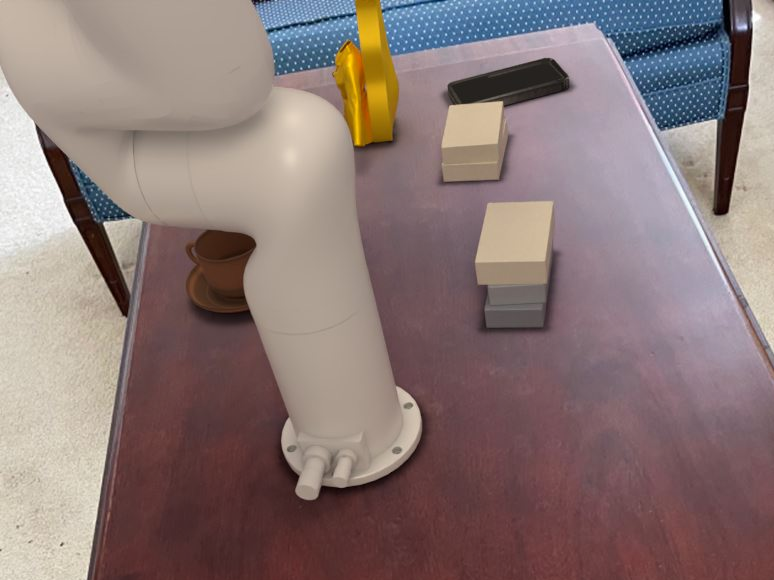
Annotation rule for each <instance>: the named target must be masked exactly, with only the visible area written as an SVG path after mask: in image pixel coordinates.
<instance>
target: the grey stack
mask: <svg viewBox="0 0 774 580" xmlns="http://www.w3.org/2000/svg"><path fill="white" fill-rule="evenodd" d="M553 257H554V247H553V245H552V249H551V256H550V264H549V271H548V278H547V284H501V285H487V295H486V300H485V305H484V309H483V312H484V319H485V327H486V328H487V329H488V328H489V329H490V328H491V329H492V328H493V329H494V328H495V329H496V328H498V329H499V328H500V329H502V328H506V329H507V328H544V326H545V319H546V311H547V303H548V295H549V290H550V289H549V288H550V281H551V274H552V273H551V272H552V265H553Z"/></svg>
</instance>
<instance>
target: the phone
mask: <svg viewBox="0 0 774 580" xmlns="http://www.w3.org/2000/svg"><path fill="white" fill-rule="evenodd" d="M569 88H570V76H569V75H568V73H567V72H566V71H565V70H564V69H563V68H562V67H561V65H560V64H559V63H558V62H557V60H555V59H554V58H553V57H542V58H539V59H536V60H531V61H528V62H524V63H519V64H516V65H511V66H508V67H504V68H500V69H496V70H492V71H488V72H485V73H480V74H477V75H472V76H469V77H465V78H460V79H456V80H453V81H450V82H449V83H447V93H448V96H449V98H450V99H451V102H453V105H461V104H474V103H487V102H500V101H503V106H508V105H512V104H515V103H520V102H523V101H528V100H532V99H534V98H538V97H543V96H547V95H549V94H555V93H558V92H561V91H565V90H568V89H569Z"/></svg>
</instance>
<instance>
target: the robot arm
mask: <svg viewBox="0 0 774 580" xmlns="http://www.w3.org/2000/svg"><path fill="white" fill-rule="evenodd" d="M274 58H275V57H274V51H273V47H272V44H271V41H270V37H269V35H268V32H267V30H266V27H265V25H264V24H263V20H262V18H261V17H260V15H259V12H258V10H257V9H256V6H255V5H254V3H253V1H252V0H0V69H1V72H2V73H3V76H4V78H5V81H6V83H7V85H8V87H9V89H10V90H11V92H12V94H13V96H14V98H15V99H16V101H17V102H18V104H19V105H20V107H21V108H22V109H23V110H24V112H25V113H26V115H28V117H29V118H30V119H31V120H32V121H33V122H34V124H36V126H37V127H38V128H39V129H40V130H41V131H42V132H43V133H44V134H45V135H46V136H47V138H48V139H50V140H51V141H52V142H53V143H54V145H56V147H58V148H59V149H60V151H62V153H63V154H64V155H66V157H68V159H69V160H70V161H72V162H73V164H75V165H76V166H77V167H78V169H79V170H81V171H82V172H83V174H84V175H86V177H87V178H89V180H91V181H92V182H93V184H95V185H96V186H97V188H99V189H100V190H101V192H103V193H104V194H105V195H106V196H107V197H108V198H109V199H110V200H111V201H112V202H113V203H114V204H115V205H117V207H119V208H120V209H121V210H122V211H124V212H125V213H126V214H128V215H130V216H131V217H133V218H135V219H137V220H139V221H142V222H144V223H146V224H150V225H155V226H160V227H169V228H180V229H195V230H222V231H225V232H237V233H243V234H247V235H249V236H251V237H252V238H253V239H254V240H255V242H256V248H255V249H254V251H253V253H252V254H251V256H250V258H249V260H248V262H247V265H246V267H245V272H244V277H243V285H244V292H245V297H246V300H247V303H248V306H249V309H250V310H249V311H250V314H251V317H252V319H253V321H254V324H255V326H256V329H257V332H258V335H259V338H260V340H261V344H262V346H263V349H264V352H265V355H266V357H267V360H268V362H269V365H270V368H271V370H272V374H273V377H274V379H275V381H276V384H277V387H278V390H279V392H280V395H281V399H282V401H283V403H284V406H285V409H286V412H287V415H288V418H287V419H286V421H285V422H284V426H283V428H282V431H281V438H280V443H281V449H282V452H283V455H284V458H285V460H286V462H287V464H288V465H289V467H290V469H291V470H292V471H293V472H294V473H295V474H297V475H298V481H297V483H296V487H295V489H294V492H295V494H296V496H298V498H300V499H303V500H305V501H313V500H316V499H318V497H319V495H320V492H321V489H322V486H324V487H330V488H331V487H332V488H340V489H343V488H347V487H353V486H354V487H355V486H361V485H364V484H368V483H371V482H374V481H377V480H378V479H381V478H383V477H385V476H387V475H389V474H390V473H391V472H392V473H393V472H394V471H396V470H397V469H399V468H400V467H401V466H402V465H403V464H404V463H405V462H406V461H407V460H409V458H410V457H411V456H412V454H413V453H414V452H415V450H416V449H417V447H418V445H419V443H420V441H421V437H422V433H423V419H422V416H421V411H420V408H419V405H418V404H417V402H416V400H415V399H414V397H412V396H411V394H410V393H408V392H407V391H406V390H405V389H403V388H402V387H400V386H397V385H396V382H395V377H394V373H393V368H392V365H391V360H390V356H389V353H388V348H387V343H386V340H385V336H384V332H383V326H382V323H381V318H380V315H379V311H378V306H377V301H376V298H375V293H374V289H373V285H372V282H371V277H370V273H369V269H368V265H367V260H366V256H365V251H364V247H363V242H362V235H361V230H360V224H359V216H358V215H359V213H358V206H357V205H358V204H357V187H356V160H355V150H354V149H355V147H354V143H353V140H352V138H351V133H350V130H349V127H348V125H347V123H346V121H345V119H344V115H343V114H342V113H341V111H339V109H338V108H337V107H336V106H334V105H333V104H332V103H331V102H330V101H328V100H327V99H325V98H323V97H321V96H319V95H317V94H315V93H312V92H309V91H306V90H302V89H297V88H291V87H286V86H285V87H284V86H274V83H275V75H276V67H275V66H276V65H275V59H274Z"/></svg>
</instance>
